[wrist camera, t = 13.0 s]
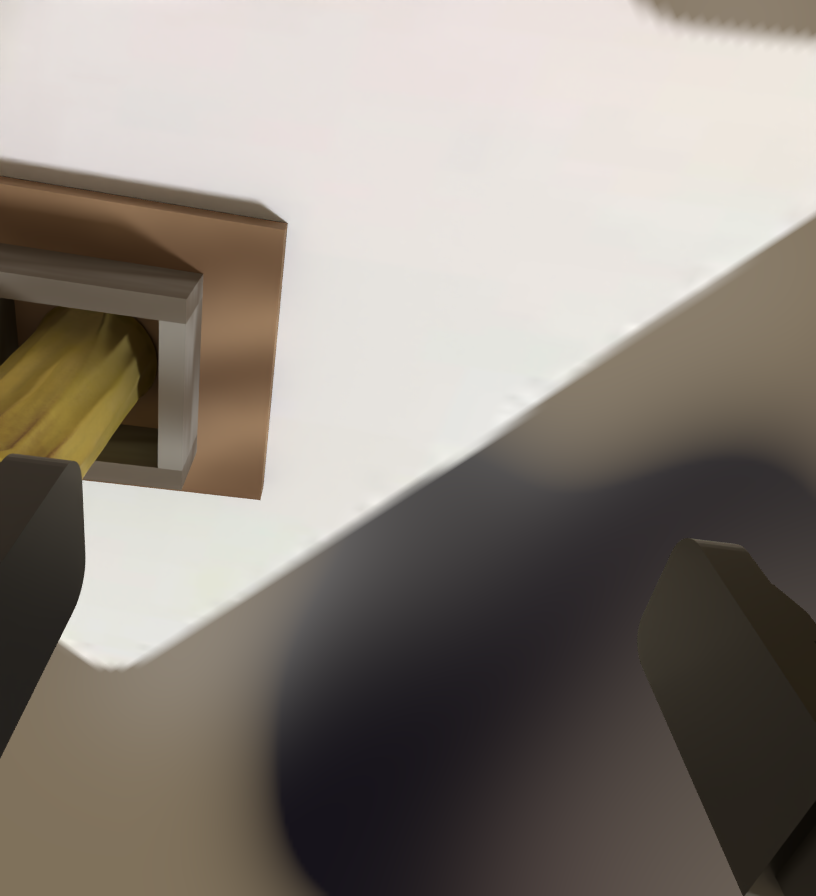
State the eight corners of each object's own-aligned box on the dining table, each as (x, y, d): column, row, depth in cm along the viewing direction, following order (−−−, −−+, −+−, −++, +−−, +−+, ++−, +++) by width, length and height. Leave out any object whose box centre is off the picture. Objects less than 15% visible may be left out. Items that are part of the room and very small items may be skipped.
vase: (11, 344, 37) (-163, 497, 25) (92, 273, 36) (-50, 398, 23) (103, 426, 40) (-13, 601, 27) (182, 362, 38) (98, 518, 26)
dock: (-95, 160, 34) (-170, 180, 29) (287, 223, 36) (276, 251, 32) (-51, 450, 42) (-104, 503, 37) (263, 486, 44) (251, 540, 39)
